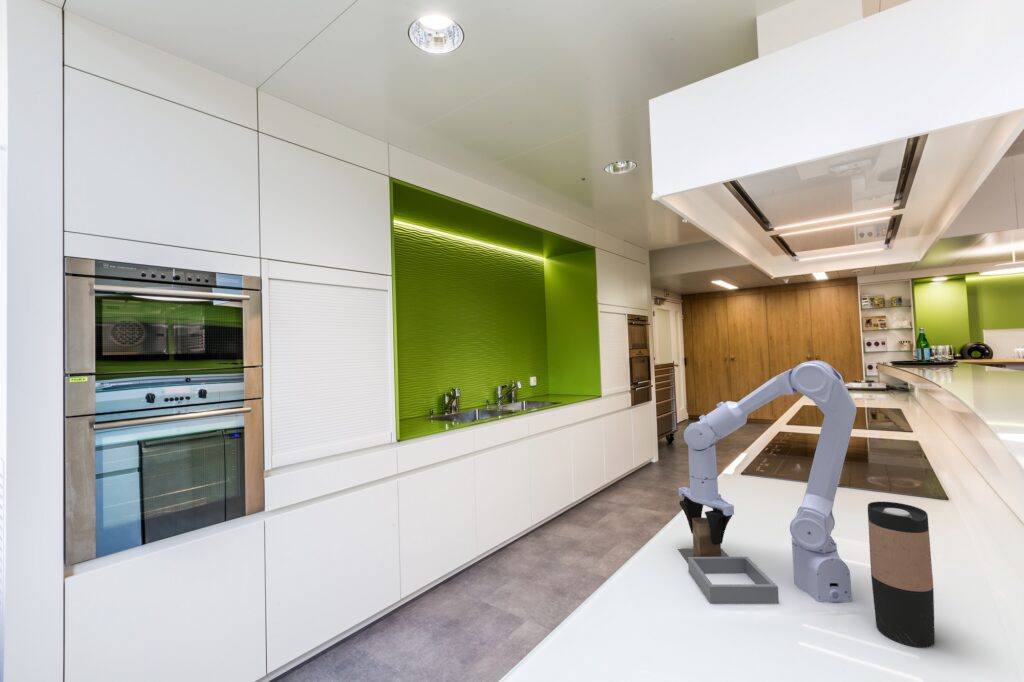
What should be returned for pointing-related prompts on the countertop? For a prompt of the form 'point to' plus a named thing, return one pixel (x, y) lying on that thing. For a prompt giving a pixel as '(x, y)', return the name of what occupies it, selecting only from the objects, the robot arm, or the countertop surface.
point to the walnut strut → (704, 539)
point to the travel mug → (902, 573)
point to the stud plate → (690, 553)
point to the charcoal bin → (733, 593)
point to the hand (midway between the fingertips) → (706, 538)
